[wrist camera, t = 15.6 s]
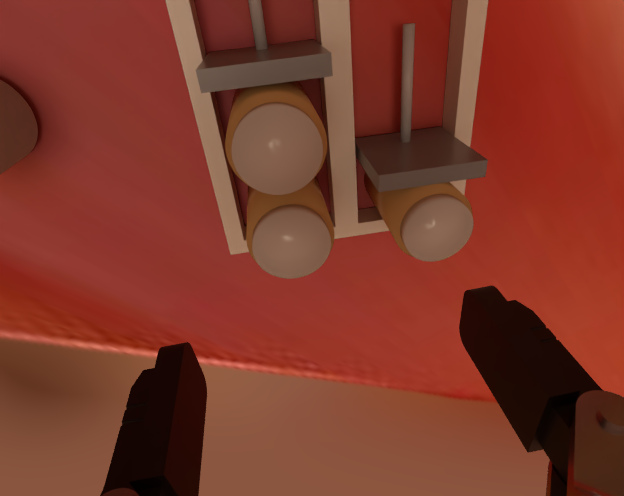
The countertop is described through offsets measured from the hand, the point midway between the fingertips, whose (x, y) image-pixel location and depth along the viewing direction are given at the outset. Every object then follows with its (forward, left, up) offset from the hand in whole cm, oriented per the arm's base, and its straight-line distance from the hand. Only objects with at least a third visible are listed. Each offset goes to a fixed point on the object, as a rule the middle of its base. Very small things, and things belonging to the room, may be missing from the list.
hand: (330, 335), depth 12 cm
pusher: (-1, +9, -23) cm, 25 cm away
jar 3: (+6, +9, -24) cm, 26 cm away
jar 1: (-1, -1, -24) cm, 24 cm away
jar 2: (+6, -1, -24) cm, 24 cm away
